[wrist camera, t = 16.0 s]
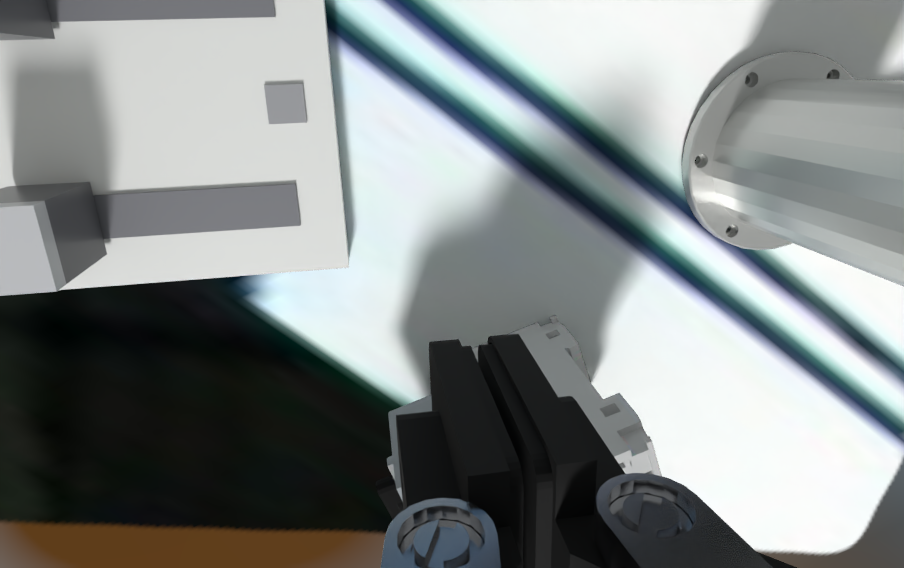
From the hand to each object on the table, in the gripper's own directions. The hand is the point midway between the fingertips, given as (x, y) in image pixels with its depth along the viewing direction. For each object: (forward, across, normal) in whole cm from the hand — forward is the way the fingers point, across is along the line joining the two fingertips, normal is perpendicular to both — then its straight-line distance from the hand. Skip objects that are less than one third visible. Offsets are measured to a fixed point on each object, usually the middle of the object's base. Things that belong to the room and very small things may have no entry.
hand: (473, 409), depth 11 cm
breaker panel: (+27, +13, -5) cm, 30 cm away
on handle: (+25, +18, +1) cm, 31 cm away
